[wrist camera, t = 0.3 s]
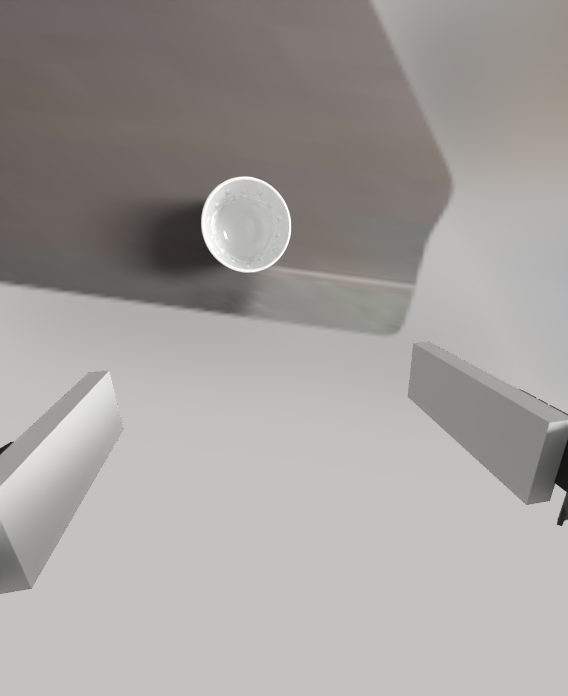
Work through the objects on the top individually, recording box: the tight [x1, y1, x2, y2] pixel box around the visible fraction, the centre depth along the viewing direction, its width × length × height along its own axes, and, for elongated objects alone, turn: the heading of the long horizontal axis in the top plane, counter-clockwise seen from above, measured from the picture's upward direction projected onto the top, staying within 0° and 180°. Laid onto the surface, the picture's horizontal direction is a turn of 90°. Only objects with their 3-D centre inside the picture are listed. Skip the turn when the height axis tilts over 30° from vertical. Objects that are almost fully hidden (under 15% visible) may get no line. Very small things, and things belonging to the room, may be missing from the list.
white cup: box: [201, 177, 291, 272], centre depth 32 cm, size 8×8×10 cm
